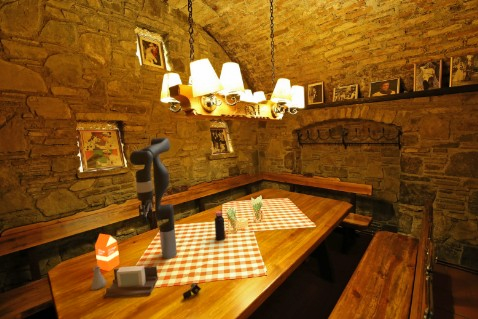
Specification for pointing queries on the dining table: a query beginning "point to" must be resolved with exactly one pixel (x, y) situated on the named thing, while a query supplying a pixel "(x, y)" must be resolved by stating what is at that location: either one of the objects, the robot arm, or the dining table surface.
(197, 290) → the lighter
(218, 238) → the bottle
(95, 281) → the flask
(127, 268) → the white rectangular block
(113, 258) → the orange juice
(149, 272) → the picture ledge
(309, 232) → the dining table surface
